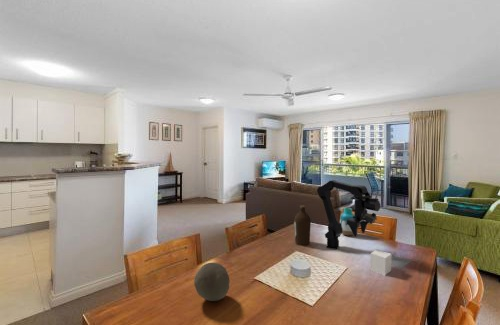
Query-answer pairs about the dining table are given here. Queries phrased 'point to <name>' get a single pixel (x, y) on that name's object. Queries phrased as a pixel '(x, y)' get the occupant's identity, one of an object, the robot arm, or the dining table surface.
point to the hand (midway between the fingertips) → (359, 234)
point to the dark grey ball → (212, 281)
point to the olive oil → (302, 227)
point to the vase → (343, 221)
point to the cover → (380, 262)
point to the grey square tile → (399, 261)
